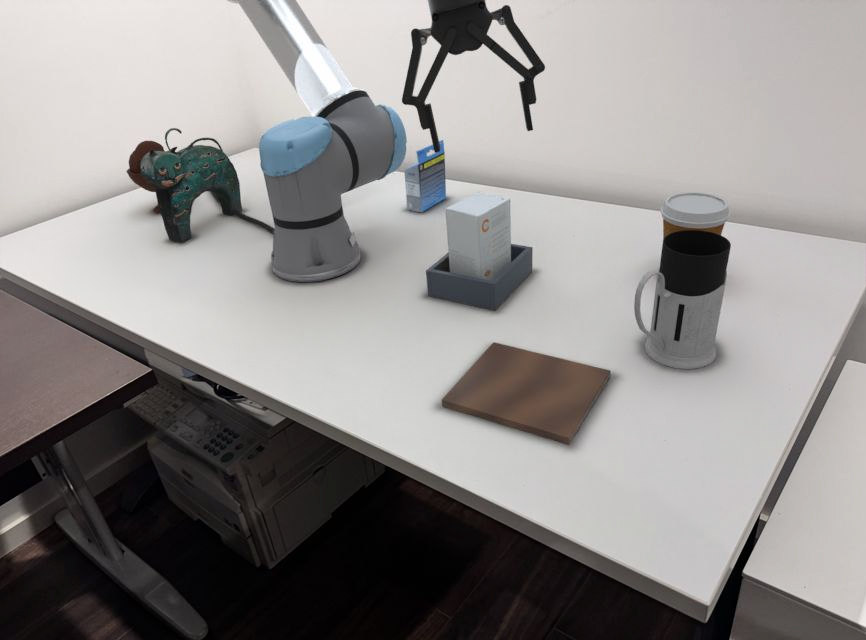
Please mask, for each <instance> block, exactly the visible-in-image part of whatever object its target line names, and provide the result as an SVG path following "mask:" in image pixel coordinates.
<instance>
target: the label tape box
mask: <svg viewBox="0 0 866 640" xmlns="http://www.w3.org/2000/svg"><path fill="white" fill-rule="evenodd" d="M439 144H440V152H436V153H435V152H434V153H432V154H429V155H428V153H430V152H431V151H432V152H433V151H434V147H433V143H432V144H430V145H428V146H425V147H423V148H421V149H418V150H416V151H415V154H416V159H417V163H415V164H413V165H411V166H409V167H406V168H405V169H404V182H405V198H406V199H405V200H406V210H409V211H413V212H416V213H423V212H425V211H427V210H429V209H430V208H432V207H433V206H435V205H436V204H439V203H440V202H442V201H443V200H445V199H447V185H446V182H447V181H446V179H447V178H446V156H445V153H446V152H445V145H444V139H440V140H439Z"/></svg>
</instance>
